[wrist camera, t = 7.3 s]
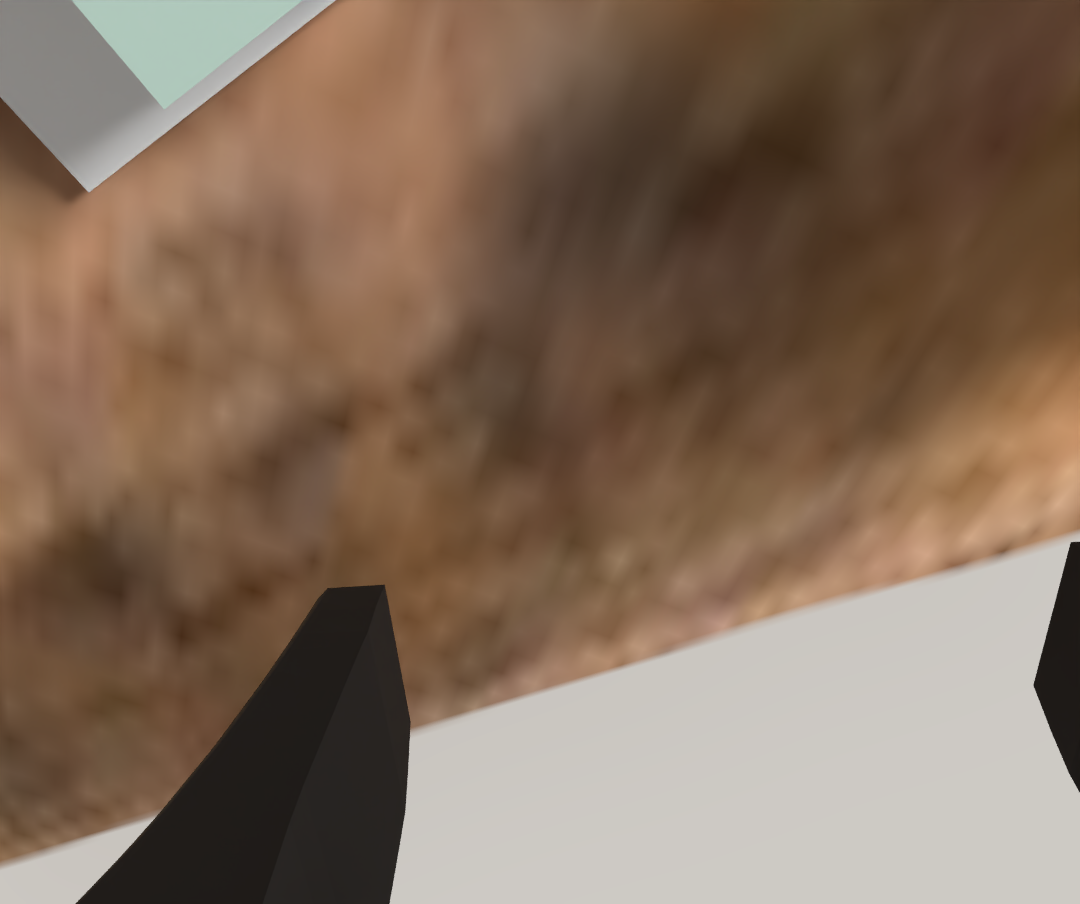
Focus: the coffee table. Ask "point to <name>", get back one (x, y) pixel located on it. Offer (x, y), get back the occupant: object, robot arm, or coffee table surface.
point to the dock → (101, 84)
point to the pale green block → (179, 36)
